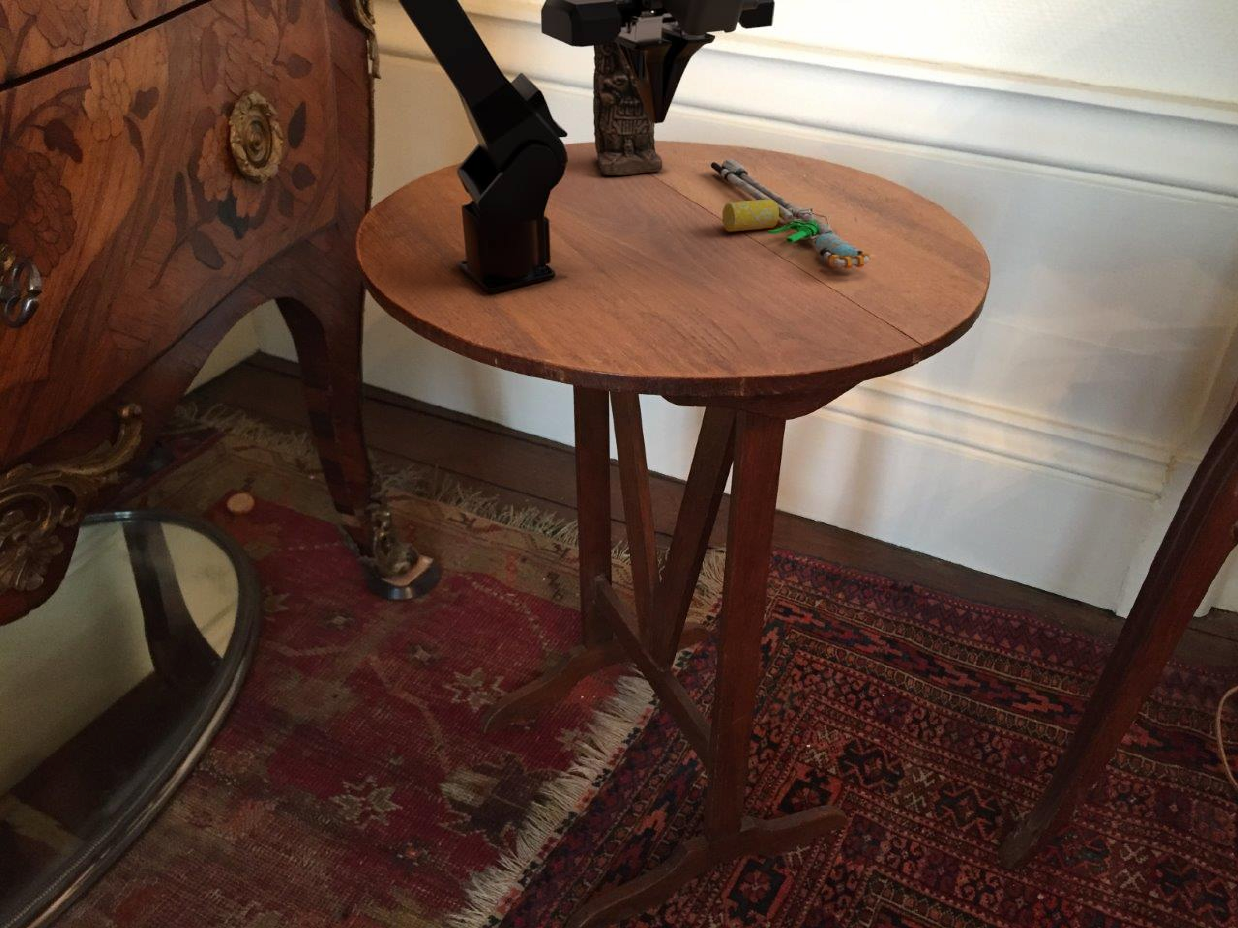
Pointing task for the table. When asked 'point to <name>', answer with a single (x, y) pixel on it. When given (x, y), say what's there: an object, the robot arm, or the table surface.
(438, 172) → the table surface
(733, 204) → the flamethrower
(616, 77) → the statue
